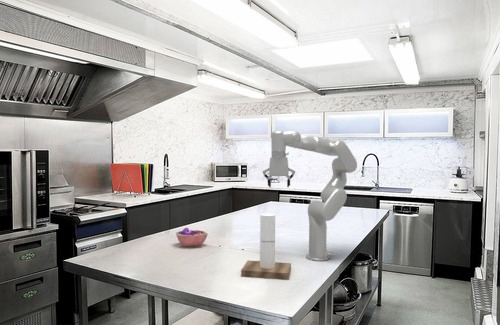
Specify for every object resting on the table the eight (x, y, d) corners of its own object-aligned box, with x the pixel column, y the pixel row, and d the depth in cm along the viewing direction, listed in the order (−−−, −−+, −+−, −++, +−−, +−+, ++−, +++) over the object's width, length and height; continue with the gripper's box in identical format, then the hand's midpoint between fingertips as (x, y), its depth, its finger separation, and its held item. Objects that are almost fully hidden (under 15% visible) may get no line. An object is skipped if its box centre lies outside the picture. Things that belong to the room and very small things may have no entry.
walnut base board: (290, 269, 177) (291, 263, 177) (288, 279, 161) (288, 273, 161) (247, 266, 181) (247, 260, 181) (241, 276, 165) (241, 270, 165)
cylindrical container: (266, 269, 166) (266, 216, 166) (257, 265, 172) (257, 214, 172) (277, 266, 170) (278, 214, 170) (268, 263, 176) (269, 213, 176)
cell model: (202, 250, 211) (202, 231, 211) (170, 248, 215) (171, 229, 215) (211, 243, 228) (211, 226, 227) (181, 242, 232) (181, 224, 231)
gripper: (295, 154, 190) (295, 186, 190) (263, 154, 192) (263, 186, 193) (295, 154, 182) (295, 187, 183) (261, 154, 185) (261, 187, 185)
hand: (279, 187), depth 188 cm, fingers open, 9 cm apart
